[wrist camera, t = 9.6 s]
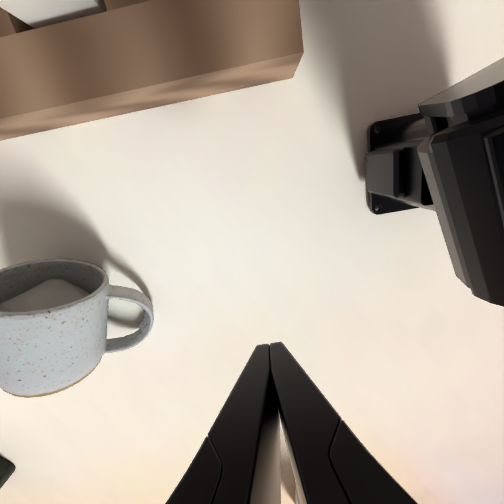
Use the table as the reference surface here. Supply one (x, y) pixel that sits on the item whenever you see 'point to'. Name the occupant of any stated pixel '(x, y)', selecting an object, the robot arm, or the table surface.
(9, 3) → the middle button
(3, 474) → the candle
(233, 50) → the button board
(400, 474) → the table surface
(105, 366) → the table surface
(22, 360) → the ceramic mug
